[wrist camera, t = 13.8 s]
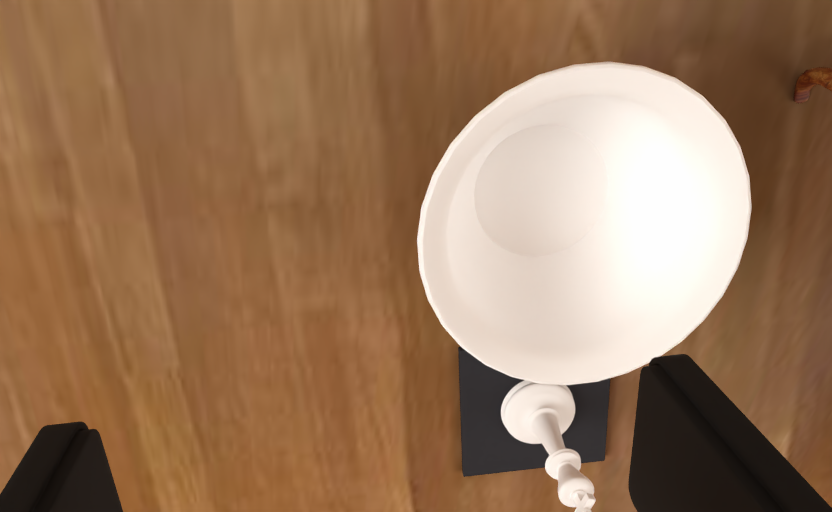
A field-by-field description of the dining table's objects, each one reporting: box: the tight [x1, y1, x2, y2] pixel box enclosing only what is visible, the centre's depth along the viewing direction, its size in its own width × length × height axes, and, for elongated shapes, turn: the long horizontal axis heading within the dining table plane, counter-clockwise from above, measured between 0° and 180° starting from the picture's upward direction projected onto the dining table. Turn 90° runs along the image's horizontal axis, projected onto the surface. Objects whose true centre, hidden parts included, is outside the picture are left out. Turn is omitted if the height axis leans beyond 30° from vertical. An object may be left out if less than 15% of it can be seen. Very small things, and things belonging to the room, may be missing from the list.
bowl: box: [417, 62, 751, 385], centre depth 34 cm, size 16×16×8 cm
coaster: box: [458, 347, 610, 477], centre depth 44 cm, size 10×10×1 cm
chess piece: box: [501, 380, 596, 512], centre depth 39 cm, size 5×5×10 cm
